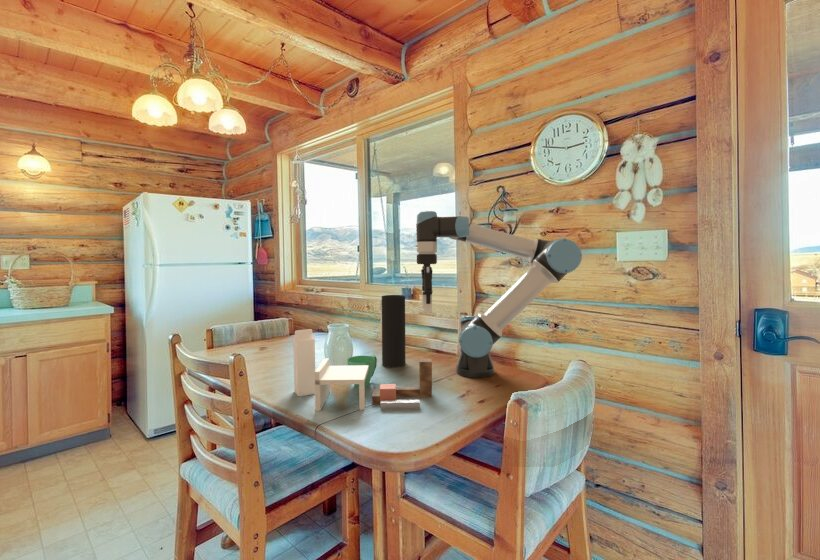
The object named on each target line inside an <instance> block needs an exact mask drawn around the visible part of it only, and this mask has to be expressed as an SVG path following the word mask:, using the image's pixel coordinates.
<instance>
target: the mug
mask: <svg viewBox="0 0 820 560" xmlns="http://www.w3.org/2000/svg"><path fill="white" fill-rule="evenodd" d="M377 361H378V359H377V356H376V355H375V354H370V355H353V356H351V357H348V358H347V366H352V365H369V370H368V373H367V376H366V380H365V389H367V388H368V387H369V385H370V383H371V382H370V381H371V379H372V378H373V376H374V373H375V371H376V368H377ZM353 386H354V387H355V388H356V389H359V384H353Z"/></svg>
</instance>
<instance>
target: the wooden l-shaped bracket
mask: <svg viewBox="0 0 820 560" xmlns="http://www.w3.org/2000/svg"><path fill="white" fill-rule="evenodd" d="M418 363H419V364H418V367H419V370H418V371H419V374H418V375H419V378H418V379H419V386H406V387H405V386H400V387H399V386H396V398H413V397H414V398H418V397H419V398H421V399H422V398H423V399H424V398H426V399H427V398H428V399H429V398H433V361H432V358H419V362H418ZM371 404H372V405H381V404H380V386H379V387H373V391H372V395H371Z"/></svg>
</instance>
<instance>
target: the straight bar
mask: <svg viewBox="0 0 820 560" xmlns="http://www.w3.org/2000/svg"><path fill="white" fill-rule="evenodd" d="M399 410H401V411H403V410H404V411H406V410H407V411H412V410H417V411H418V410H421V400H420V399H396V400H381V404H380V411H399Z"/></svg>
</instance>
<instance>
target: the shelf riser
mask: <svg viewBox="0 0 820 560" xmlns="http://www.w3.org/2000/svg"><path fill="white" fill-rule="evenodd" d="M368 370H369V365H352V366H348V365H330V358H329V357H328V358H324V359H323V360H322V361H321V363H320V364H319V365H318V367H317V368H315V372H314V374H315V394H314V408H315V409H314V410H315V411H321V409H322V408H323V406H324V404H325V403H326V400H327V399H328V397H329V395H330V392H331V388H330V387H331V386H332V385H354V384H359V388H358V396H359V398H358V401H359V404H358V405H359V408H358V409H359V411H364V410H365V408H366V401H365V400H366V399H365V397H366V393H365V392H366V391H365V390H366V388H365V380H366V376H367V373H368Z"/></svg>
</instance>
